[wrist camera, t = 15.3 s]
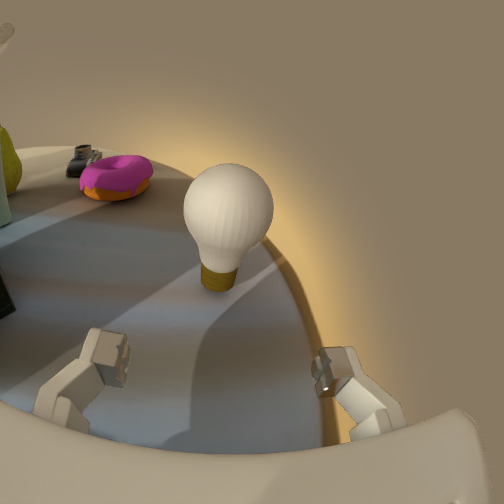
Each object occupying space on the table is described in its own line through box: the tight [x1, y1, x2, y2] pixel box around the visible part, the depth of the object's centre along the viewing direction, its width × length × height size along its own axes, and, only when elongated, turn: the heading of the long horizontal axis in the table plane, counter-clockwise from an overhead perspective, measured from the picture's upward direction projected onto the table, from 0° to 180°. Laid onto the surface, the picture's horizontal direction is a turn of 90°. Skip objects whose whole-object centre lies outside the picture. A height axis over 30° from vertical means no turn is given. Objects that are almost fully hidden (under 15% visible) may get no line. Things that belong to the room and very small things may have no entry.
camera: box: [66, 145, 102, 177], centre depth 38 cm, size 5×10×4 cm, turn 20°
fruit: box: [0, 125, 22, 195], centre depth 24 cm, size 6×6×12 cm
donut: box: [80, 155, 153, 201], centre depth 32 cm, size 10×10×5 cm
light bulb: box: [184, 164, 273, 292], centre depth 19 cm, size 6×6×10 cm
